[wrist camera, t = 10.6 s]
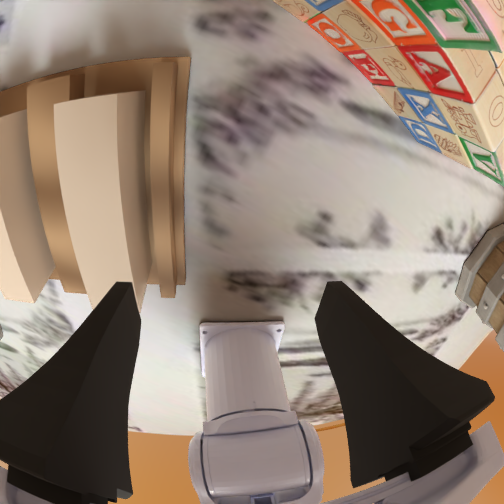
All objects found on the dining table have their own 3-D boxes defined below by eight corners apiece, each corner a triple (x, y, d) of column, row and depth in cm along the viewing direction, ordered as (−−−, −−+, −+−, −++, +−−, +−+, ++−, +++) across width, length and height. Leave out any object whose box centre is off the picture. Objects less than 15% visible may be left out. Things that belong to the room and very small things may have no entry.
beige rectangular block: (60, 259, 18) (34, 303, 14) (31, 258, 17) (5, 298, 13) (35, 106, 11) (-13, 122, 7) (4, 115, 11) (-43, 134, 7)
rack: (185, 278, 22) (183, 303, 19) (24, 271, 19) (11, 291, 17) (190, 58, 13) (186, 52, 10) (-10, 96, 10) (-33, 103, 8)
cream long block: (152, 263, 19) (140, 313, 15) (112, 262, 19) (93, 310, 15) (145, 90, 13) (117, 93, 9) (95, 95, 12) (53, 104, 8)
